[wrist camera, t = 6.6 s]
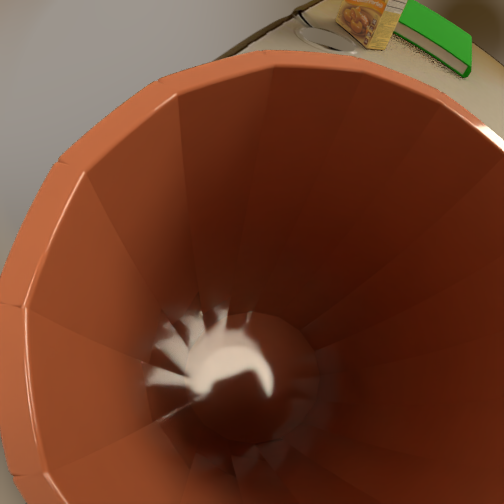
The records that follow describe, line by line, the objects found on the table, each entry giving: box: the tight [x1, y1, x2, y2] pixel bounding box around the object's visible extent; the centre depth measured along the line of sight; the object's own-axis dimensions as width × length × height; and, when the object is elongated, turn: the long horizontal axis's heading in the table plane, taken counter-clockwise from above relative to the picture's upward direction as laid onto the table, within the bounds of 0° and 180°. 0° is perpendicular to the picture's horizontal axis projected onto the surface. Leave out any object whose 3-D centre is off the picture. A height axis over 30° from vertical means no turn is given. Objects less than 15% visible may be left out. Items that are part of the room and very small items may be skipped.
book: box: [393, 0, 472, 78], centre depth 46 cm, size 22×28×3 cm
